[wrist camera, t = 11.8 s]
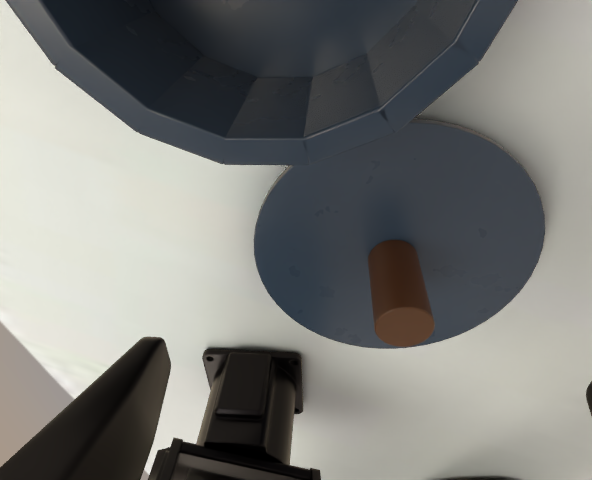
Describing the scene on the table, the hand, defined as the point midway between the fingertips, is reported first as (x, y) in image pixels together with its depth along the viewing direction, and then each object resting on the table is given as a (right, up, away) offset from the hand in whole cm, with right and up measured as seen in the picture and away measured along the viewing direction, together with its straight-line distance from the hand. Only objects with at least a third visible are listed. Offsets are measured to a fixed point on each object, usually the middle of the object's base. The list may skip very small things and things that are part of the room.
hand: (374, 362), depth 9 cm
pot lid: (+3, +2, +12) cm, 13 cm away
